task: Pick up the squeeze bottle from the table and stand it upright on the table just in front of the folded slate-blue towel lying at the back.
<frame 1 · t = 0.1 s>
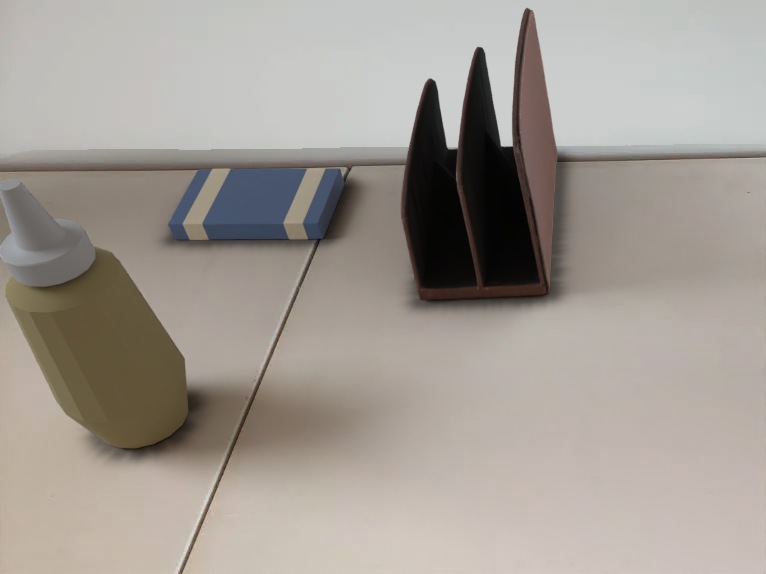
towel: (262, 211, 89), on the table
letter holder: (494, 226, 88), on the table
squeeze bottle: (146, 422, 73), on the table
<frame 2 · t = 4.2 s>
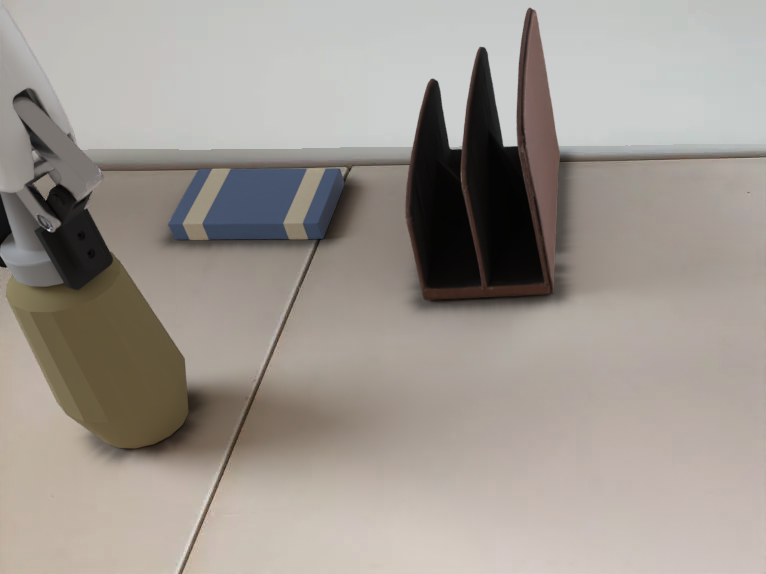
hand: (54, 262, 63), 13 cm above the table, tool pointing down, fingers closed on squeeze bottle, 4 cm apart
squeeze bottle: (146, 422, 73), on the table, touching gripper
everything else where it was.
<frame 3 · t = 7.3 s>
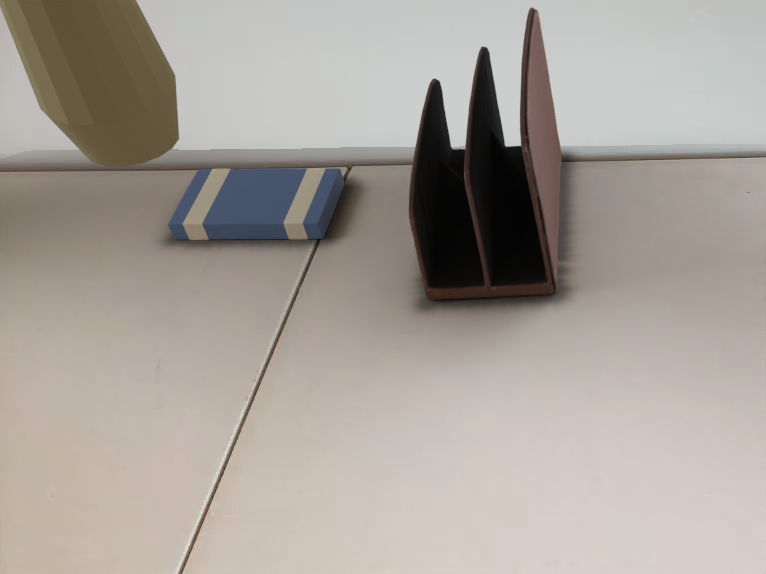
squeeze bottle: (135, 148, 70), point 13 cm above the table, touching gripper
everything else where it was.
when the fingers open (13 cm above the table, at t = 10.9 s): squeeze bottle stays where it is, on the table.
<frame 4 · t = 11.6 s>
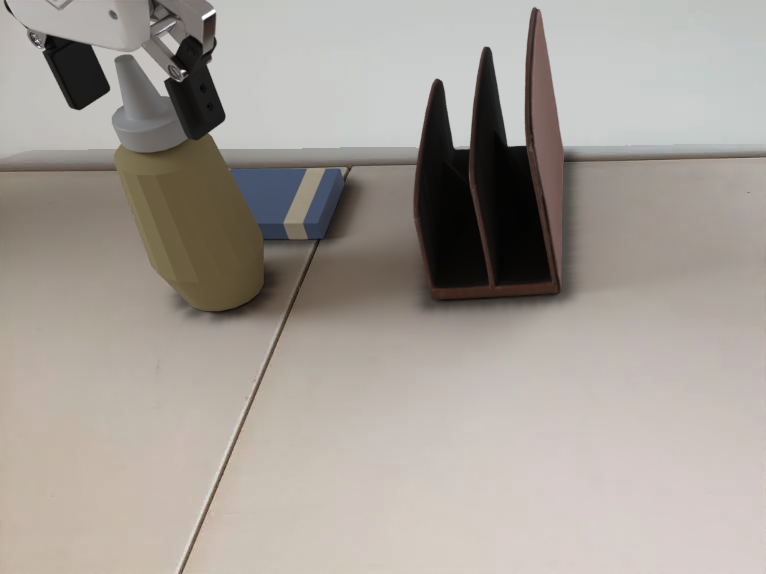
hand: (148, 114, 71), 14 cm above the table, tool pointing down, fingers open, 9 cm apart
squeeze bottle: (226, 291, 82), on the table
everything else where it was.
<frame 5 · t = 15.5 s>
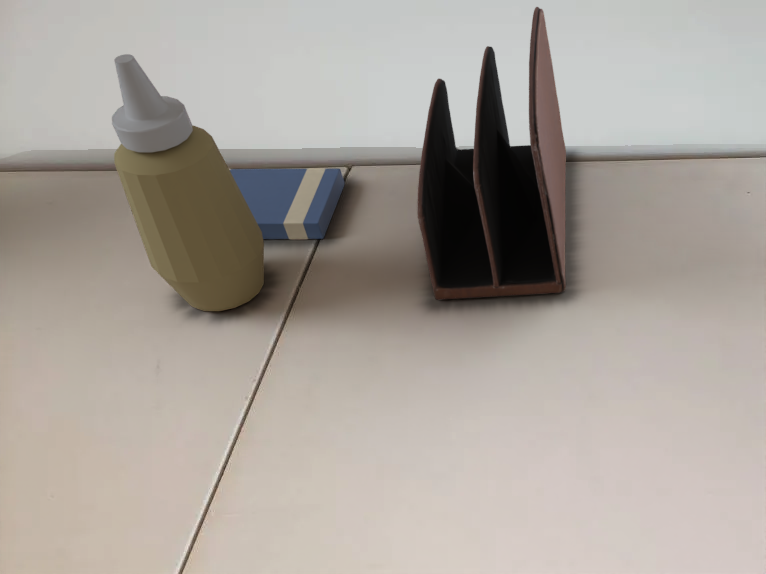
nothing on the table moved.
at the end: squeeze bottle inside the target area on the table beside the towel (0.2 cm from its centre), on the table; squeeze bottle tilted 0°; the gripper is holding nothing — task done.
